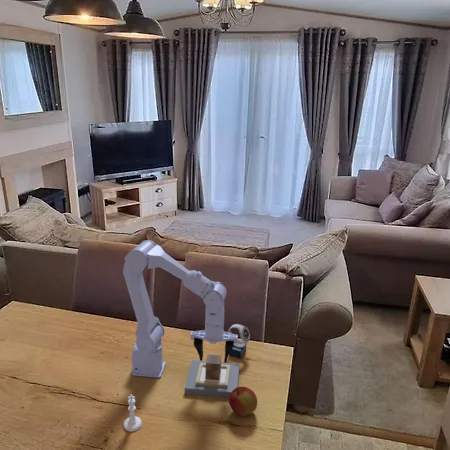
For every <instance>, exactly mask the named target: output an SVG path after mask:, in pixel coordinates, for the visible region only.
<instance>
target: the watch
mask: <svg viewBox="0 0 450 450" xmlns="http://www.w3.org/2000/svg"><path fill="white" fill-rule="evenodd" d="M232 329H238V330H237V331H238V332H239V337H240V339H241V340H237V343H234V345H233V348H232V350H231V352H230V353H229V355H228V357H229V356H230V357H233V358H236V359H239V360H240V359H241V358H242V357H243V356H244V354H245V353H246V351H247V345H248V343H249V341H250V339H251V333H250V330H249V328H248V327H247V326H244V325H242V324H241V323H240V324H239V323H235V324H232V325H231V326H230V327H229V328H228V330H227V333H231V334H233V333H232Z"/></svg>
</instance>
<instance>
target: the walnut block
mask: <svg viewBox="0 0 450 450" xmlns="http://www.w3.org/2000/svg"><path fill="white" fill-rule="evenodd" d="M205 359H206V360H205V361H206V373H205V379H210V380H220V374H221V363H222V354H221V355H219V354H209V353H208V354H207V355H206V358H205Z"/></svg>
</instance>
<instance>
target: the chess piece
mask: <svg viewBox="0 0 450 450" xmlns="http://www.w3.org/2000/svg"><path fill="white" fill-rule="evenodd" d="M135 398H136V396H134V395H133V394H132V393H131V394H130V396H128V397H127V403H128V405H129V406H128V408H127V410H128V411H129V417H127V418H126V419H125V420H124V422H123V429H124V430H126V431H128V432H136V431H138V430H139V429H141V427H142V425H143V424H142V423H143V422H142V419H141V418H140V417H139V416H136V415H135V414H136V413H135V410H136V409H137V407H136V405H135V404H136V399H135Z"/></svg>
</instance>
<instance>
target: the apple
mask: <svg viewBox="0 0 450 450" xmlns="http://www.w3.org/2000/svg"><path fill="white" fill-rule="evenodd" d="M228 404H229V407H230V409H231V410H232V411H233V413H235V414H236V415H238V416H239V417H240V416H242V417H243V416H244V417H245V416H249V415H250V414H253V413H254V412H255V411H256V409H257V407H258V397H257V395H256V393H255V392H254V391H253V390H252V389H251V388H250V387H246V386H238V387H237V388H235V389H234V390H233V391H232V392H231V393H230V396H229V397H228Z"/></svg>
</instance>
